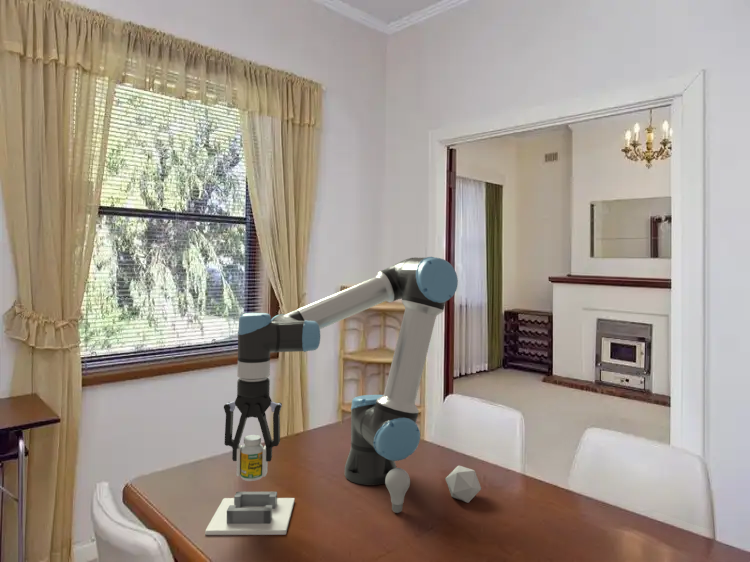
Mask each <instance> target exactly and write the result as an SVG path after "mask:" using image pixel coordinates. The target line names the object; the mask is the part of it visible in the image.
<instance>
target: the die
mask: <svg viewBox="0 0 750 562" xmlns="http://www.w3.org/2000/svg"><path fill="white" fill-rule="evenodd" d="M477 475H478V474H477V473H476V471H475V470H474V469H472V468H468V467H465V466H462V465H457V466H456V467H455V468H454V469H453V470H452V471H451V472H450V473H449V474H448V475H447V476H446V477H445V482H446V484H447V488H448V490H449V493H450V497H452V498H454V499H457V500H459V501H461V502H464V503H470V501H471V500H473V498H475V496H476V495H477V494H479V492H480V491H481V490H482V487H481V484H480V482H479V478H478V476H477Z"/></svg>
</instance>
